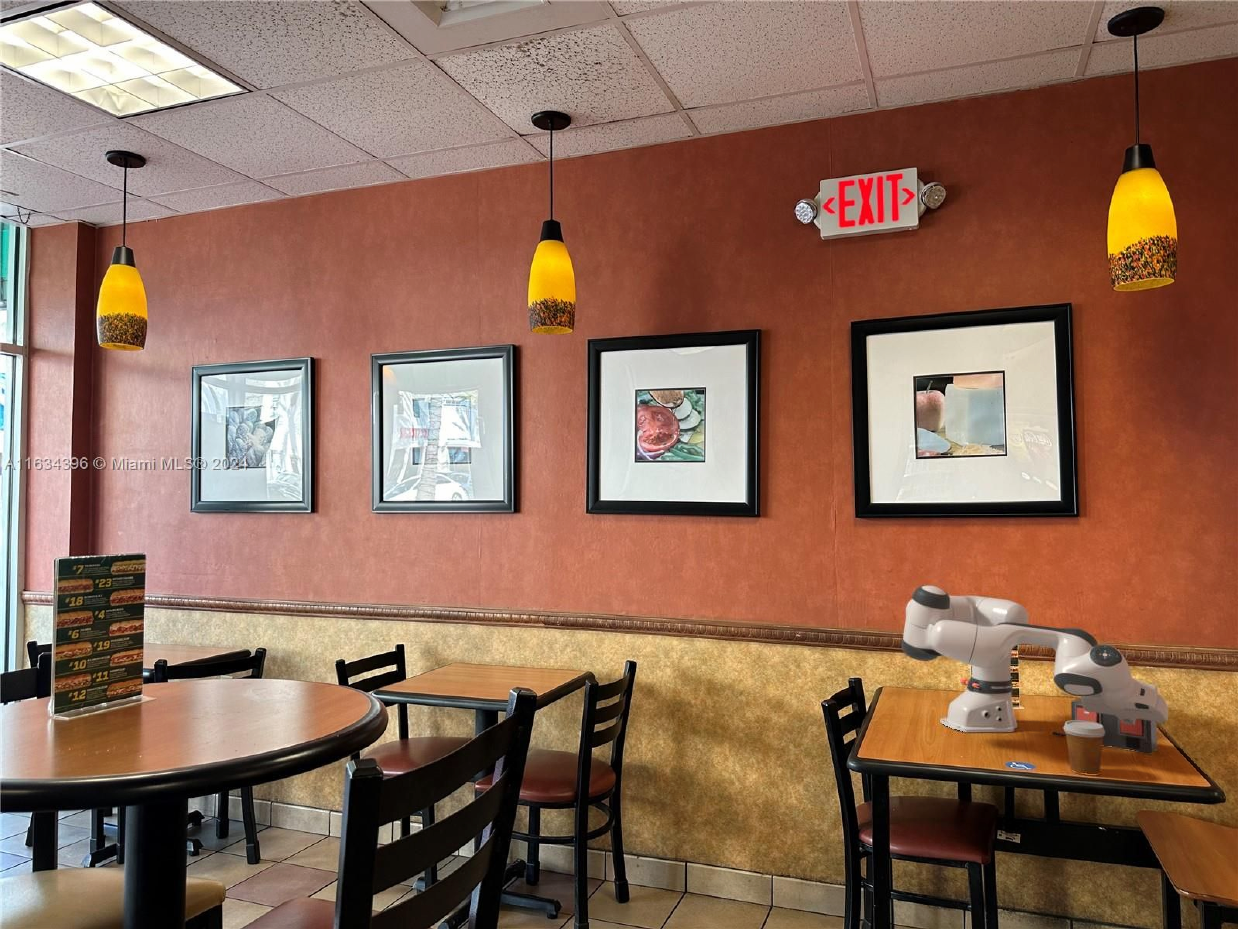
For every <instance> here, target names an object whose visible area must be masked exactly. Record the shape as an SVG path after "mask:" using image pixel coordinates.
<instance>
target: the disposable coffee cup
mask: <svg viewBox="0 0 1238 929" xmlns="http://www.w3.org/2000/svg"><path fill="white" fill-rule="evenodd" d="M1062 728H1063V730H1064V733H1065V734H1066V737H1065V738H1066V744H1067V750H1068V756H1069V762H1070V769H1071V771H1072V770H1074V771H1076V772H1079V773H1087V774H1098V773H1099V774H1100V772H1101V762H1102V755H1103V746H1102V745H1103V736H1104V734H1105V730H1104V728H1103V725H1101V724H1098V723H1095V722H1090V721H1081V720H1072V719H1071V720H1067V721H1065V723H1064V726H1062Z"/></svg>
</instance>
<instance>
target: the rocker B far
mask: <svg viewBox="0 0 1238 929" xmlns="http://www.w3.org/2000/svg"><path fill="white" fill-rule="evenodd" d="M1120 727H1121V732H1122V733H1129V734H1135V735H1141V736H1142V734H1143V732H1142V722H1141V719H1136V721H1135V725H1132V724H1126V723H1122V720H1120Z"/></svg>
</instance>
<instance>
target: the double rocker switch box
mask: <svg viewBox="0 0 1238 929" xmlns="http://www.w3.org/2000/svg"><path fill="white" fill-rule="evenodd" d="M1077 707H1079V708H1083V706H1082V701H1081V698H1078V697H1077V698H1075V699H1074V700H1072V701H1071V702H1070V708H1071V714H1070V715H1071V720H1077ZM1141 722H1142V732H1143V734H1142V736H1141V735H1135V734H1129V733H1122V732H1121V727H1120V719H1119V718H1117V717H1116V716H1115V715H1109V714H1102V713H1098V718H1097V723H1098V724H1101V725H1103V728H1104V730H1105V734H1104V736H1103V745H1104V746H1103V747H1105V746H1112V747H1115V748H1114V749H1117V748H1121V749H1120V750H1122V749H1129V750H1134V751H1138V752H1137V753H1140V752H1143V753H1142V754H1146V753H1153V754H1154V753H1155V752H1156V751H1157V750H1158V732H1157V730H1158V729H1157V721H1150V720H1143V719H1141ZM1052 735H1053V736H1059V737H1064V736H1066V732H1059V731H1052ZM1116 747H1117V748H1116ZM1156 749H1157V750H1156ZM1155 750H1156V751H1155ZM1134 751H1133V752H1134Z"/></svg>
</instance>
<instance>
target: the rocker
mask: <svg viewBox="0 0 1238 929" xmlns="http://www.w3.org/2000/svg"><path fill="white" fill-rule="evenodd" d="M1097 718H1098V713H1095V712H1089V711H1086V710H1085V709H1083V708H1079V707H1077V720H1081V721H1090V722H1095V723H1097Z"/></svg>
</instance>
